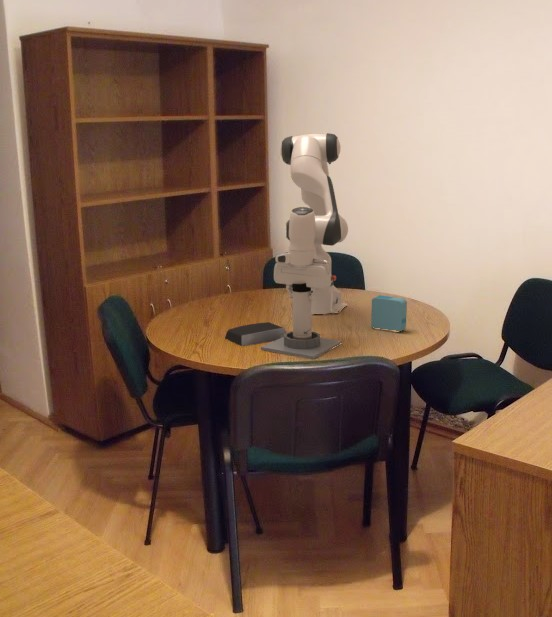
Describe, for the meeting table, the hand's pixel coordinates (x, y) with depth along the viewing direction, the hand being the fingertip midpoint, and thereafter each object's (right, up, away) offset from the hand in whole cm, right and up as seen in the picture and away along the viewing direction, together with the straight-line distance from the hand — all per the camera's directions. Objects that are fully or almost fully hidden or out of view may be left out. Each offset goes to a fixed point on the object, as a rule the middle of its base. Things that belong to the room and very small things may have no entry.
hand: (302, 299), depth 239 cm
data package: (+32, -11, +24) cm, 42 cm away
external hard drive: (-16, -14, +15) cm, 26 cm away
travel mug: (0, -13, +3) cm, 14 cm away
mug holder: (0, -16, +4) cm, 17 cm away
